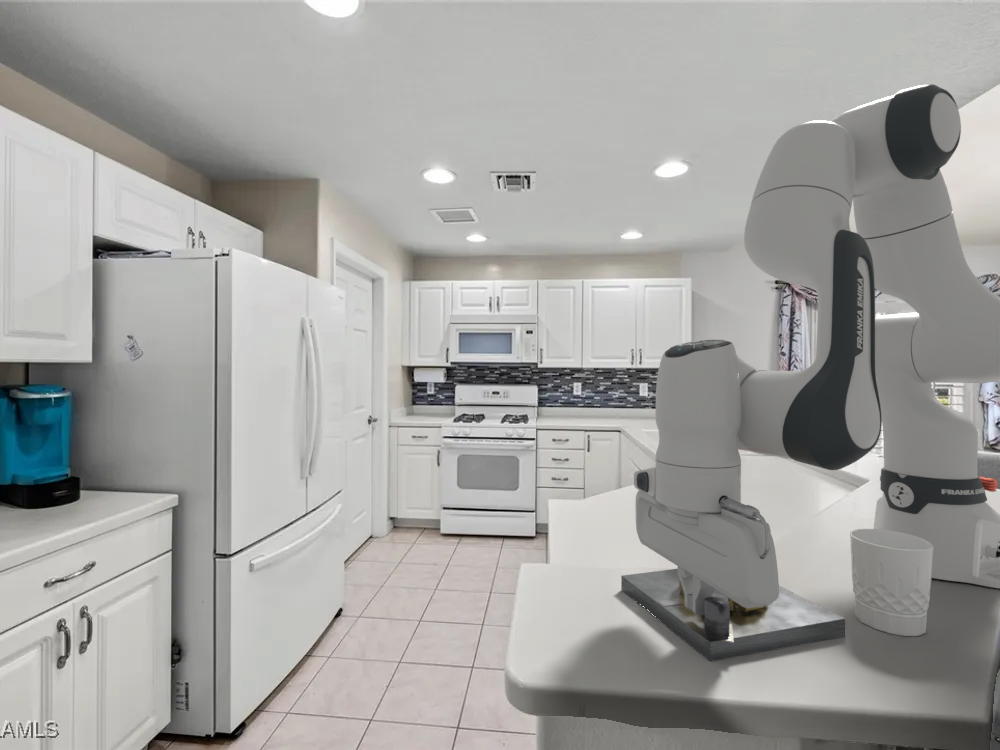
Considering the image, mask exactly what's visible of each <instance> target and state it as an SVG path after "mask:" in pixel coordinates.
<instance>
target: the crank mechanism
mask: <svg viewBox="0 0 1000 750" xmlns="http://www.w3.org/2000/svg"><path fill="white" fill-rule="evenodd" d="M620 577H621V581H620V582H621V591H622V593H624V594H625V595H626V596H628V597H629V598H630V597H631V598H630V599H632V600H633V599H634V600H635V601H637V602H638V603H639V604H641V605H642V606H644V607H645V608H646V609H648V610H649V611H650V612H651V613H652V614H653V615H654V616H656V619H657V618H658V619H659V620H660V621H661V622H662V623H661V622H660V621H659V620H658V619H657V620H658V621H659V622H660V623H661V624H663V625H664V626H665V627H666V628H668V630H669V631H671V632H673V633H674V634H675V635H676V636H677V637H679V638H680V639H682V640H683V642H685V643H687V644H688V645H689V646H690V647H691V648H693V650H695V651H697V653H699V654H700V655H701V656H703V657H704V658H705V659H706V660H708V661H709V662H714V661H715V662H716V661H721V660H726V659H730V658H736V657H741V656H742V657H743V656H746V655H747V656H748V655H753V654H757V653H762V652H767V651H769V652H770V651H774V650H779V649H785V648H790V647H795V646H801V645H806V644H811V643H816V642H822V641H827V640H833V639H837V638H838V639H839V638H844V637H846V617H843V616H841V615H839V614H838V613H835V612H833V611H832V610H830V609H827V608H825V607H823V606H821V605H820V604H817V603H815V602H813V601H811V600H809V599H807V598H805V597H803V596H802V595H799V594H797V593H795V592H793V591H791V590H789V589H787V588H785V587H783V586H781V585H779V596H778V598H777V599H776V601H775V602H774V603H773V604H771V605H768V606H763V608H759V609H754V610H749V611H745V610H743V609H741V608H739V607H738V606H736V605H734V604H733V611H732V610H730V638H729V639H728V640H723V641H720V640H714V639H711V638H709V637H708V636H706V635H705V633H704V628H705V615H699V616H698V615H696V614H695V613H694V612H692V611H691V610H689V609H688V608H687V607H685V604H684V594H683V589H680V588H679V576H678V568H672V569H664V570H657V571H656V570H654V571H648V572H640V573H632V574H625V575H621V576H620ZM634 600H633V601H634ZM635 601H634V602H635ZM637 602H636V603H637ZM638 603H637V604H638ZM639 604H638V605H639ZM642 606H641V607H642ZM652 614H651V615H652ZM653 615H652V616H653ZM654 616H653V617H654Z"/></svg>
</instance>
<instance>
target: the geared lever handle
mask: <svg viewBox="0 0 1000 750" xmlns="http://www.w3.org/2000/svg"><path fill="white" fill-rule="evenodd" d="M679 588H680V589H683V588H682V585H681V582H680V579H679ZM683 594H684V591H683ZM733 604H734V605H736V606H738V607H739V608H741V609H743V610H745V611H749V610H754V609H759V608H763V606H762V607H755V608H745V607H742V606H741V605H739V604H738V603H736V602H734V601H733V600H731V599H730V598H728V597H726V596H725V595H723V594H722V593H720V592H718V591H717V590H715V591H714V593H713V594H712V596H711V597H707V598H705V628H704V633H705V635H706V636H708V637H709V638H711V639H714V640H720V641H723V640H728V639H729V638H730V610H732V611H733Z"/></svg>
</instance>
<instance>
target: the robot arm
mask: <svg viewBox="0 0 1000 750" xmlns="http://www.w3.org/2000/svg"><path fill="white" fill-rule="evenodd" d="M960 115H961V114H960V111H959V108H958V105H957V102H956V100H955V99H954V96H953V95H952V94H951V93H950V92H949V91H948V90H946V89H944V88H943V87H940V86H938V85H936V84H932V83H931V84H923V85H917V86H913V87H909V88H905V89H901V90H899V91H897V92H896V93H895V94H893V95H891V96H887V97H884V98H881V99H877V100H874V101H872V102H869V103H866V104H863V105H860V106H857V107H855V108H852V109H850V110H847V111H844V112H842V113H841V114H839V116H836V117H834V118H833V119H830V120H828V121H827V120H812V121H807V122H803V123H801V124H797V125H795V126H793V127H792V128H790V129H788V130H787V131H785V132H783V134H782V135H780V137H779V138H778V139H777V140H776V141H775V142H774V145H773V146H772V149H771V151H770V152H769V155H768V157H767V158H766V160H765V163H764V165H763V167H762V170H761V172H760V175H759V178H758V181H757V183H756V186H755V189H754V192H753V195H752V200H751V203H750V207H749V210H748V215H747V217H746V222H745V227H744V236H743V238H744V239H743V241H744V249H745V252H746V253H747V256H748V258H749V259H750V260H751V262H752V263H753V264H754V265H755V266H756V267H757V268H758V269H759V270H761V271H762V272H764V273H765V274H767V275H768V276H771V277H773V278H775V279H777V280H780V281H782V282H786V283H788V284H792V285H796V286H801V287H806V288H809V289H813V290H815V291H816V294H817V321H816V322H817V323H816V324H817V325H816V327H817V328H816V329H817V330H816V350H815V351H816V353H815V359H814V362H813V363H811V365H809V367H807V368H806V369H803V370H768V369H758V367H755V366H753V365H751V364H749V363H747V362H746V361H744V360H743V359H742V358H740V357H739V356H738V355H737V352H736V347H735V345H734V343H733V342H731V341H728V340H724V339H706V340H705V339H704V340H699V341H689V342H684V343H679V344H676V345H673V346H671V347H669V349H667V350H666V351H664V352H663V354H662V357H661V359H660V362H659V366H658V370H657V376H656V377H657V378H656V385H655V386H656V389H655V424H656V426H657V430H658V431H657V432H658V444H657V445H658V446H657V450H656V452H655V466H652V467H650V468H649V467H648V468H645V469H640V470H635V472H634V473H633V486H634V488H635V489H636V490H637V493H636V494H635V508H634V509H635V528H636V529H635V530H636V534H637V537H638V539H639V541H640V544H641V545H643V546H645V547H646V548H648V549H650V550H651V551H654V552H655V553H656V554H658V555H659V556H661V557H663V558H664V559H666V560H667V561H668V562H671V563H672V564H673V565H675V566H677V569H678V576H679V579H680V582H681V585H682V588H683V591H684V604H685V607H687V608H688V609H689V610H691V611H692V612H694V613H695V614H696V615H698V616H699V615H705V598H707V597H711V596H712V594H713V593H714V591H715V590H717V591H718V592H720V593H722V594H723V595H725V596H726V597H728V598H730V599H731V600H733V601H734V602H736V603H738V604H739V605H741V606H742V607H745V608H755V607H762V606H768V605H771V604H773V603H774V602H775V601H776V599H777V598H778V596H779V586H780V584H779V570H778V561H777V560H778V559H777V553H776V547H775V543H774V539H773V536H772V532H771V527H770V526H771V525H769V523H768V522H767V521H766V519H765V517H764V516H762V514H761V512H760V511H761V510H759V509H758V508H756V507H755V506H752V505H749V504H744V503H742V460H741V459H742V458H741V455H740V452H739V450H740V451H745V452H751V453H753V454H758V455H763V456H764V455H765V456H770V457H777V458H782V459H789V460H793V461H795V462H799V463H801V464H806V465H809V466H813V467H817V468H819V469H820V468H821V469H824V470H829V471H837V470H842V469H844V468H846V467H848V466H851V465H853V464H854V463H856V462H857V461H859V460H860V459H862V458H863V457H865V456H866V455H867V454H869V453H870V452H871V451H872V450H873V449H874V448H875V447H876V445H877V444H878V442H879V439H880V437H881V433H882V434H883V435H882V436H883V454H884V455H883V456H884V457H883V458H884V459H883V461H884V462H883V464H884V465H883V467H882V468H881V469H880V475H879V482H880V488H879V489H880V490H881V491H882V492H883V494H882V496H881V497H879V498H878V499H877V501H876V506H875V511H874V512H875V513H874V522H873V528H872V529H880V530H888V531H895V532H900V533H905V534H909V535H913V536H916V537H919V538H922V539H924V540H927V541H929V542H930V543H932V544H933V562H932V579H936V580H943V581H948V582H949V581H951V582H960V583H967V584H973V585H977V586H983V587H987V588H995V589H1000V513H999V512H997V511H996V510H995V509H994V507H991V506H990V504H988V503H986V502H987V501H988V498H987V494H986V491H988V492H991V493H995V492H996V491H997V489H999V487H998V486H999V482H998V481H997V479H996V478H995V477H994V478H991V477H984V476H979V475H978V458H979V457H978V455H979V453H978V448H979V446H978V444H979V443H978V442H979V438H978V437H979V435H978V434H979V432H978V430H977V427H976V425H975V423H974V422H973V421H972V420H971V418H969V417H968V416H966V415H965V414H964V413H962V412H960V411H958V410H956V409H955V408H952V407H950V406H948V405H945V404H943V403H942V402H940V400H939V399H938V398H937V396H936V395H935V394H934V391H933V387H932V383H942V384H943V383H946V384H947V383H948V384H949V383H952V384H953V383H954V384H955V383H957V384H989V383H995V382H996V383H997V382H1000V295H999V296H998V295H997V294H995V293H994V292H993V291H992V290H990V289H989V288H988V287H987V286H986V285H985V284H983V283H982V282H981V281H980V279H978V278H977V276H976V275H975V274H974V272H973V271H972V269H971V268H970V266H969V265H968V263H967V260H966V257H965V255H964V252H963V248H962V245H961V242H960V241H961V240H960V238H959V233H958V230H957V225H956V221H955V216H954V211H953V206H952V201H951V197H950V194H949V191H948V187H947V185H946V182H945V178H944V176H943V174H942V172H941V168H943V167H944V166H946V164H948V162H949V160H950V159H951V157H952V156H953V155H954V153H955V151H956V150H957V148H958V146H959V144H960V140H961V133H962V131H961V130H962V127H961V125H962V123H961V116H960ZM852 205H853V216H854V221H855V223H854V224H855V229H856V232H854V231H851V227H850V215H851V211H852ZM876 290H877V292H880V293H882V294H885V295H887V296H890V297H894V298H896V299H899V300H901V301H903V302H905V303H906V304H907V305H909V306H910V307H911V308H912V309H913V310H914V311H913V312H902V313H891V314H889V313H888V314H879V315H876Z"/></svg>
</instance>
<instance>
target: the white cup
mask: <svg viewBox="0 0 1000 750" xmlns="http://www.w3.org/2000/svg"><path fill="white" fill-rule="evenodd" d="M849 532H850V534H849V535H850V536H849V537H850V539H849V541H850V559H851V560H850V561H851V577H852V578H851V579H852V591H853V594H854V609H855V611H854V612H855V613H854V614H855V617H856V618H857V619H858V620H859V622H861V623H862V624H865V625H866V626H869V627H870V628H872V629H875V630H878V631H880V632H884V633H888V634H890V635H897V636H902V637H919V636H921V635H924V634H926V632H927V621H928V619H927V617H928V610H929V608H930V601H931V600H930V599H931V587H932V579H933V578H932V562H933V544H932V543H930V542H929V541H927V540H924V539H922V538H919V537H916V536H913V535H909V534H905V533H900V532H895V531H888V530H880V529H873V528H860V529H853V530H851V531H849Z"/></svg>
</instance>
